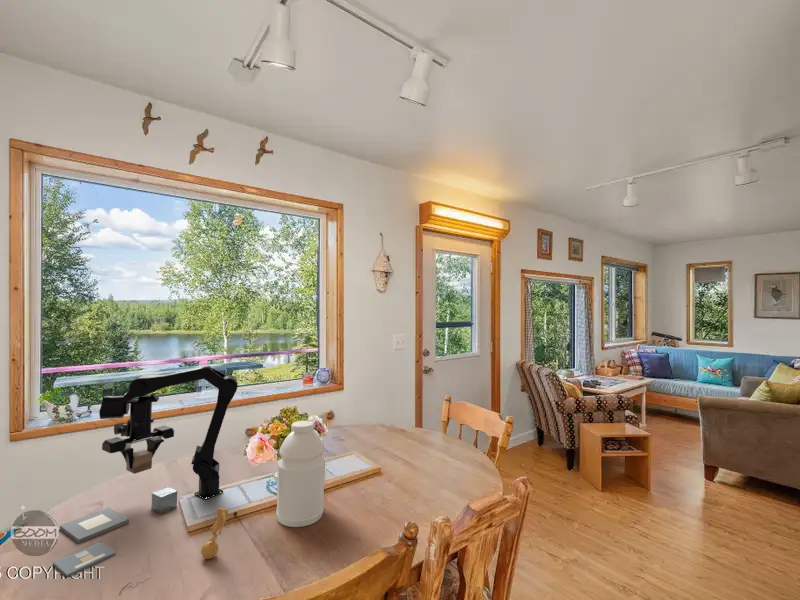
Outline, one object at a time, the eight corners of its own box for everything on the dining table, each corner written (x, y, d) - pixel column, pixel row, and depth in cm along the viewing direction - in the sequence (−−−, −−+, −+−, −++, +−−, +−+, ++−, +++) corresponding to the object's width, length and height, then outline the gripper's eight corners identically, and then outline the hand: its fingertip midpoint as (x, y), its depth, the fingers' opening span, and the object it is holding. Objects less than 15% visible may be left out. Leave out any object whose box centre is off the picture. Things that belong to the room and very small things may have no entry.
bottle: (274, 508, 125) (276, 419, 125) (318, 500, 130) (320, 415, 131) (279, 532, 112) (282, 432, 112) (327, 522, 117) (330, 427, 118)
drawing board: (115, 554, 100) (115, 551, 100) (67, 577, 92) (67, 574, 92) (100, 543, 105) (100, 541, 105) (52, 564, 96) (53, 561, 96)
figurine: (198, 551, 102) (199, 504, 103) (223, 544, 106) (224, 498, 106) (203, 569, 96) (205, 519, 96) (230, 560, 99) (231, 512, 99)
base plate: (128, 522, 115) (128, 518, 115) (78, 543, 105) (78, 539, 105) (108, 510, 121) (109, 506, 121) (59, 529, 111) (59, 525, 111)
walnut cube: (151, 468, 126) (152, 452, 126) (134, 473, 122) (135, 457, 122) (143, 464, 129) (143, 449, 129) (126, 469, 125) (126, 453, 125)
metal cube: (176, 507, 124) (177, 490, 124) (160, 514, 120) (160, 497, 120) (167, 502, 127) (168, 486, 127) (151, 509, 123) (152, 493, 123)
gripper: (157, 406, 138) (156, 451, 138) (94, 418, 122) (92, 469, 122) (175, 411, 132) (174, 458, 132) (112, 425, 116) (110, 479, 116)
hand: (139, 465), depth 125 cm, fingers closed on walnut cube, 5 cm apart
